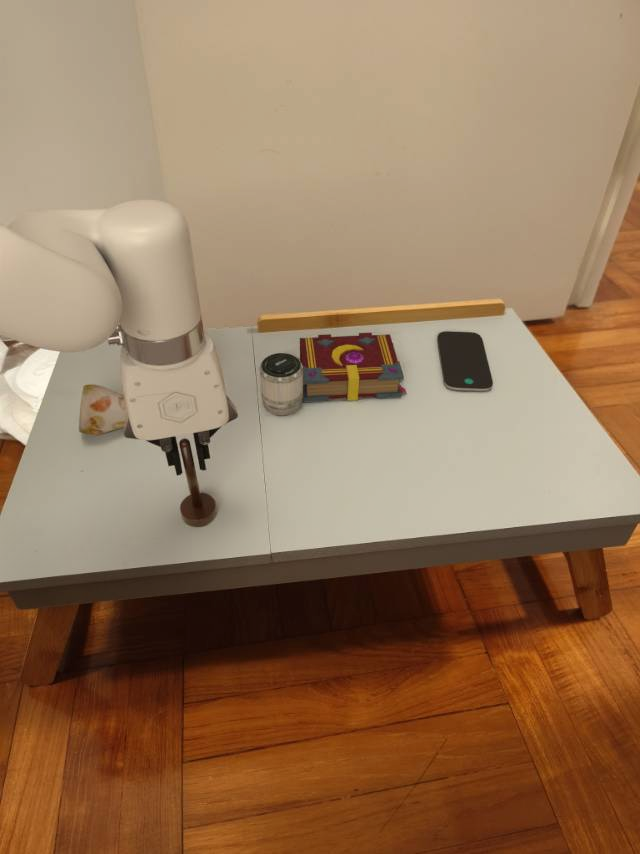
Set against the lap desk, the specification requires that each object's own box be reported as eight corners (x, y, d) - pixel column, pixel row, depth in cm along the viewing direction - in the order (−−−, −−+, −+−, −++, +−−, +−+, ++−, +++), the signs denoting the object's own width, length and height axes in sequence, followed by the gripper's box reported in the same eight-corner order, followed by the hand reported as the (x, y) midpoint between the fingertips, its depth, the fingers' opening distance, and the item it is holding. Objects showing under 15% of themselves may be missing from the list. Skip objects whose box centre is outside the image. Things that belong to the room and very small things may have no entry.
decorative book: (298, 358, 101) (298, 333, 98) (395, 354, 102) (398, 329, 99) (303, 404, 93) (303, 378, 90) (408, 398, 94) (412, 373, 91)
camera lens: (311, 403, 93) (311, 362, 88) (280, 423, 90) (278, 381, 85) (284, 384, 96) (283, 343, 91) (253, 402, 93) (249, 361, 88)
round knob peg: (186, 531, 76) (168, 459, 66) (178, 505, 79) (160, 431, 69) (220, 521, 77) (208, 448, 67) (211, 495, 80) (198, 422, 70)
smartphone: (445, 386, 95) (436, 330, 106) (444, 390, 96) (435, 334, 106) (495, 388, 95) (481, 331, 106) (493, 392, 95) (480, 336, 106)
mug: (158, 437, 88) (110, 405, 80) (104, 457, 91) (52, 427, 83) (160, 395, 92) (114, 359, 84) (108, 414, 95) (59, 382, 87)
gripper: (78, 371, 55) (121, 502, 68) (253, 344, 58) (263, 474, 71) (78, 325, 60) (118, 455, 73) (238, 302, 63) (250, 430, 76)
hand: (189, 463), depth 72 cm, fingers closed
